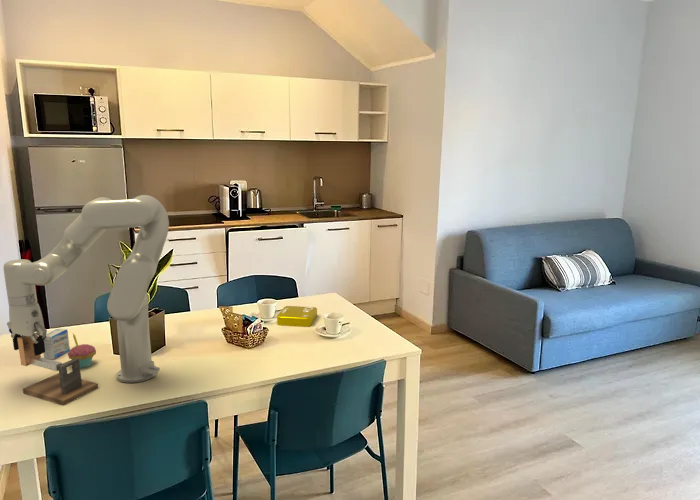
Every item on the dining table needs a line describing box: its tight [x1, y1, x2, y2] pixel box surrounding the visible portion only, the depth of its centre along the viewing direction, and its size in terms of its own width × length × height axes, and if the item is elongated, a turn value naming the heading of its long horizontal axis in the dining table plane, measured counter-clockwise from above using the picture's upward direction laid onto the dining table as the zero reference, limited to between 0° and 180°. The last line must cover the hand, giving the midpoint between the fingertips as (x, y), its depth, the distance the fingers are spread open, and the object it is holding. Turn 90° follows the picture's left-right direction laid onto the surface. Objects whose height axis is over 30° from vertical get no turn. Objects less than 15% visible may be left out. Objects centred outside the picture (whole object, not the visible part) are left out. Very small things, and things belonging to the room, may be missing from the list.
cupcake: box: [67, 333, 97, 369], centre depth 176 cm, size 9×8×12 cm
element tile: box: [276, 305, 318, 328], centre depth 222 cm, size 15×15×5 cm
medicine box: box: [42, 328, 71, 360], centre depth 185 cm, size 8×4×9 cm, turn 168°
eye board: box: [22, 358, 99, 406], centre depth 158 cm, size 18×12×10 cm, turn 66°
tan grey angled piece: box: [17, 332, 63, 372], centre depth 160 cm, size 14×5×9 cm, turn 66°
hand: (29, 351), depth 162 cm, fingers open, 9 cm apart
